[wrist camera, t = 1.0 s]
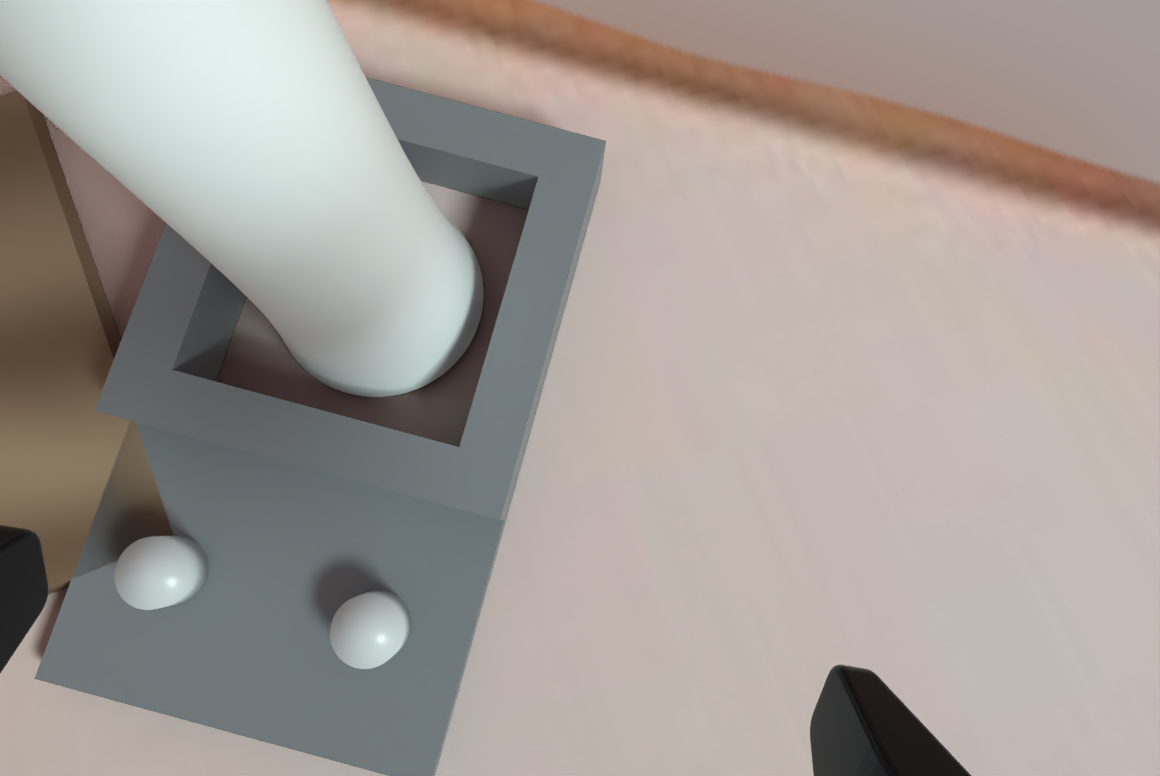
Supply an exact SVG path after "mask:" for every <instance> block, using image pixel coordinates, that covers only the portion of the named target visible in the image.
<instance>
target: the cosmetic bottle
mask: <svg viewBox="0 0 1160 776" xmlns="http://www.w3.org/2000/svg"><path fill="white" fill-rule="evenodd" d="M0 76H1V77H2V78H3V79H5V80H6V81H7V82H8V83H9V84H10V85H11V86H12V87H13V88H15V89H16V90H17V91H18V92H19V93H20V94H21V95H22V96H24V97H25V98H26V99H27V100H28V101H29V102H30V103H31V104H32V105H34V106H35V107H36V108H37V109H38V110H39V111H40V112H41V113H42V114H44V115H45V116H46V117H47V118H48V119H49V120H50V121H51V122H52V123H54V124H55V125H56V126H57V127H58V128H59V129H60V130H61V131H62V132H64V133H65V134H66V135H67V136H68V137H69V138H70V139H71V140H72V141H74V142H75V143H76V144H77V145H78V146H79V147H80V148H82V149H83V150H84V151H85V152H86V153H87V154H88V155H89V156H91V157H92V158H93V159H94V160H95V161H96V162H97V163H99V164H100V165H101V166H102V167H103V168H104V169H105V170H107V171H108V172H109V173H110V174H111V175H112V176H113V177H114V178H116V179H117V180H118V181H119V182H120V183H121V184H122V185H124V186H125V187H126V188H127V189H128V190H129V191H130V192H132V193H133V194H134V195H135V196H136V197H137V198H138V199H139V200H141V201H142V202H143V203H144V204H145V205H146V206H147V207H149V208H150V209H151V210H152V211H153V212H154V213H155V214H157V215H158V216H159V217H160V218H161V219H162V220H163V221H164V222H166V223H167V224H168V225H169V226H170V227H171V228H172V229H174V230H175V231H176V232H177V233H178V234H179V235H180V236H182V237H183V238H184V239H185V240H186V241H187V242H188V243H189V244H190V245H192V246H193V247H194V248H195V249H196V250H197V251H198V252H199V253H200V254H201V255H203V256H204V257H205V258H206V259H207V260H208V261H209V262H210V263H211V264H213V265H214V266H215V267H216V268H217V269H218V270H219V271H220V272H221V273H223V274H224V275H225V276H226V277H227V278H228V279H229V280H230V281H231V282H232V283H233V284H234V285H235V286H236V287H237V288H238V289H239V290H240V291H241V292H242V293H243V294H244V295H245V296H247V298H248V299H249V300H250V301H251V302H252V303H253V304H254V305H255V306H256V307H257V308H258V309H259V310H260V311H261V312H262V313H263V314H264V315H265V317H266V318H267V319H268V320H269V321H270V322H271V324H272V325H273V326H274V328H275V329H276V330H277V332H278V333H279V334H280V336H281V337H282V339H283V341H284V343H285V345H286V346H287V348H288V350H289V351H290V353H291V354H292V355H293V357H294V358H295V359H296V361H297V362H298V363H299V364H300V365H301V366H302V367H303V368H304V369H305V370H306V371H307V372H308V373H309V374H311V375H312V376H313V377H315V378H316V379H318V380H319V381H321V382H322V383H324V384H326V385H328V386H330V387H332V388H334V389H337V390H339V391H342V392H345V393H349V394H353V395H357V396H366V397H387V396H394V395H399V394H403V393H407V392H411V391H413V390H416V389H419V388H421V387H423V386H425V385H427V384H429V383H431V382H433V381H434V380H436V379H437V378H439V377H440V376H441V375H443V374H444V373H445V372H446V371H448V370H449V369H450V368H451V367H452V366H453V365H454V364H455V363H456V362H457V361H458V360H459V359H460V357H461V356H462V355H463V353H464V352H465V351H466V349H467V348H468V346H469V345H470V343H471V341H472V339H473V337H474V335H475V333H476V330H477V328H478V325H479V322H480V318H481V314H482V308H483V299H484V288H483V280H482V274H481V270H480V266H479V263H478V261H477V258H476V255H475V253H474V251H473V249H472V248H471V246H470V244H469V242H468V241H467V240H466V238H465V237H464V235H463V234H462V233H461V232H460V231H459V230H458V228H457V227H456V226H455V225H454V224H453V223H452V222H451V221H450V220H449V219H448V218H447V217H446V216H445V215H444V214H443V213H442V211H441V210H440V209H439V207H438V206H437V205H436V203H435V202H434V201H433V199H432V198H431V196H430V195H429V193H428V192H427V190H426V188H425V187H424V185H423V183H422V182H421V180H420V179H419V177H418V175H417V174H416V172H415V170H414V168H413V167H412V165H411V163H410V161H409V160H408V158H407V156H406V154H405V153H404V151H403V149H402V147H401V145H400V143H399V141H398V139H397V137H396V135H395V133H394V132H393V130H392V128H391V126H390V124H389V122H388V120H387V118H386V116H385V114H384V112H383V111H382V109H381V107H380V105H379V103H378V101H377V99H376V97H375V95H374V93H373V91H372V89H371V87H370V85H369V83H368V81H367V79H366V77H365V75H364V73H363V71H362V69H361V67H360V65H359V63H358V61H357V59H356V57H355V55H354V53H353V51H352V49H351V48H350V46H349V44H348V42H347V40H346V38H345V36H344V34H343V32H342V30H341V28H340V26H339V24H338V22H337V20H336V18H335V16H334V14H333V12H332V10H331V8H330V6H329V4H328V2H327V0H0Z"/></svg>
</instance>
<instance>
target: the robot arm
mask: <svg viewBox="0 0 1160 776" xmlns="http://www.w3.org/2000/svg"><path fill="white" fill-rule="evenodd" d="M48 590H49V587H48V580H47V575H46V569H45V563H44V558H43V552H42V547H41V542H40V539H39V537H38V536H37V534H36V533H35V532H33V531H31V530H28V529H23V528H17V527H11V526H5V525H0V673H1V671H2V670H3V668H4V667H5V665H6V664H7V662H8V661H9V659H10V658H11V656H12V655H13V653H14V652H15V650H16V649H17V647H18V646H19V644H20V643H21V641H22V640H23V638H24V637H25V635H26V634H27V632H28V631H29V629H30V628H31V626H32V625H33V623H34V622H35V620H36V619H37V617H38V616H39V614H40V613H41V611H42V610H43V608H44V606H45V603H46V601H47V597H48ZM810 741H811V751H812V762H813V773H814V776H971V775H970V774H969V773H968V772H967V771H966V769H965V768H964V767H963V766H962V765H961V764H960V763H959V762H958V761H957V760H956V759H955V758H954V757H953V756H952V755H951V754H950V752H949V751H948V750H947V749H946V748H945V747H944V746H943V745H942V744H941V743H940V742H939V741H938V740H937V739H936V738H935V736H934V735H933V734H932V733H931V732H930V731H929V730H928V729H927V728H926V727H925V726H924V725H923V724H922V723H921V722H920V720H919V719H918V718H917V717H916V716H915V715H914V714H913V713H912V712H911V711H910V710H909V709H908V708H907V707H906V706H905V705H904V703H903V702H902V701H901V700H900V699H899V698H898V697H897V696H896V695H895V694H894V693H893V692H892V691H891V690H890V689H889V687H888V686H887V685H886V684H885V683H884V682H883V681H882V680H881V679H880V678H879V677H878V676H877V675H876V674H875V673H874V672H872V671H871V670H868V669H864V668H858V667H852V666H846V665H836V666H834V667H833V668H832V669H831V671H830V672H829V674H828V677H827V679H826V682H825V684H824V687H823V690H822V692H821V695H820V697H819V700H818V702H817V705H816V707H815V710H814V712H813V715H812V719H811V726H810Z"/></svg>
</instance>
